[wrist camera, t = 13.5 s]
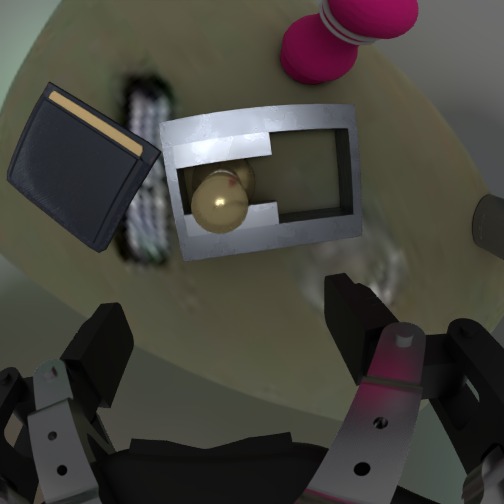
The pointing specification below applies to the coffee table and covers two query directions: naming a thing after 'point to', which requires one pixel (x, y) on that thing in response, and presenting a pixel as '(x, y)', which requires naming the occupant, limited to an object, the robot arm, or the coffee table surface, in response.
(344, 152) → the keyhole plate
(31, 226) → the coffee table surface
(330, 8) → the pepper mill
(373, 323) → the robot arm
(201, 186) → the bolt
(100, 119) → the wallet
